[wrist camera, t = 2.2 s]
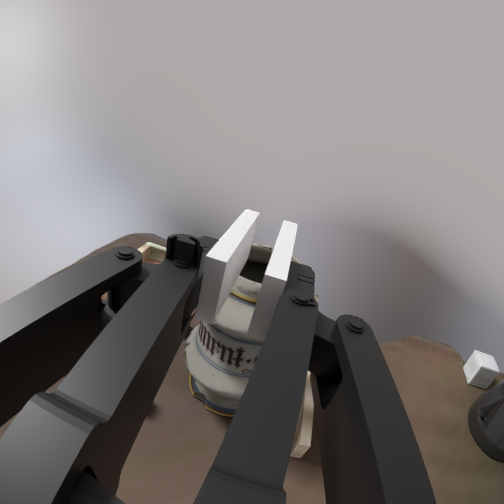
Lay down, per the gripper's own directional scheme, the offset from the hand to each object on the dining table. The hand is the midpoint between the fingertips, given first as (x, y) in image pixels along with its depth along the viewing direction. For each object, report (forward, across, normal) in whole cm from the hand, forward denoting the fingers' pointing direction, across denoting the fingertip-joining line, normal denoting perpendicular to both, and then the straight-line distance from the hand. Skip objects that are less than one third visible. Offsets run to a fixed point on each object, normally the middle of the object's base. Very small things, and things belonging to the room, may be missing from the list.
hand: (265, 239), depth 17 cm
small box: (+25, +47, -24) cm, 58 cm away
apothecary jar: (+10, 0, -24) cm, 26 cm away
